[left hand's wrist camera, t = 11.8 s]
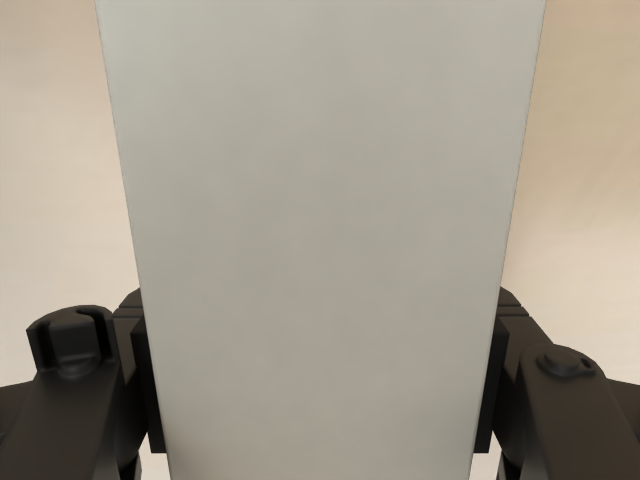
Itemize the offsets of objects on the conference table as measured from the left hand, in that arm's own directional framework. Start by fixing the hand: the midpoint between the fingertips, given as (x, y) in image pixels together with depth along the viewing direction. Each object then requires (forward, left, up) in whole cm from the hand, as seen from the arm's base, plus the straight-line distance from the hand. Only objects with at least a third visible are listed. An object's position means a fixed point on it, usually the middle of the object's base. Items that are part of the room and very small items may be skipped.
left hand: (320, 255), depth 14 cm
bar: (+15, +26, -1) cm, 30 cm away
